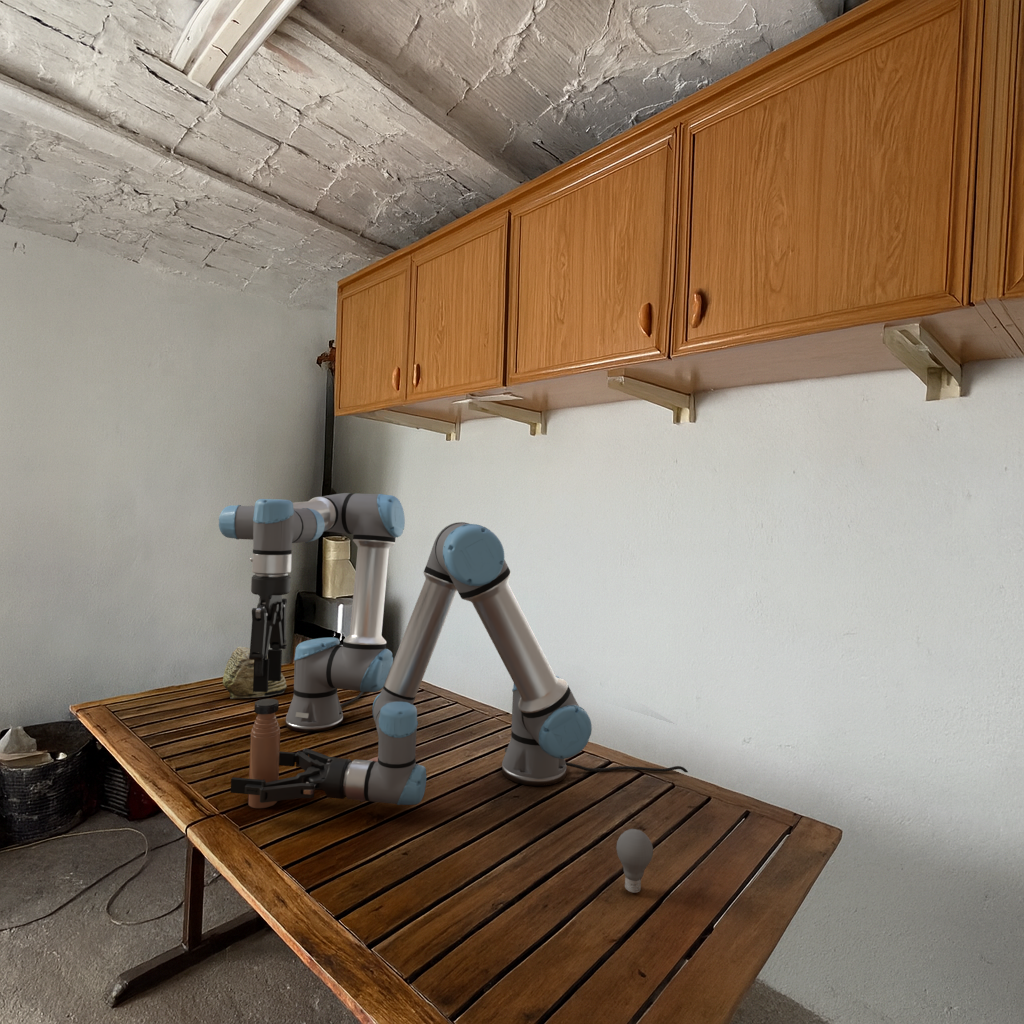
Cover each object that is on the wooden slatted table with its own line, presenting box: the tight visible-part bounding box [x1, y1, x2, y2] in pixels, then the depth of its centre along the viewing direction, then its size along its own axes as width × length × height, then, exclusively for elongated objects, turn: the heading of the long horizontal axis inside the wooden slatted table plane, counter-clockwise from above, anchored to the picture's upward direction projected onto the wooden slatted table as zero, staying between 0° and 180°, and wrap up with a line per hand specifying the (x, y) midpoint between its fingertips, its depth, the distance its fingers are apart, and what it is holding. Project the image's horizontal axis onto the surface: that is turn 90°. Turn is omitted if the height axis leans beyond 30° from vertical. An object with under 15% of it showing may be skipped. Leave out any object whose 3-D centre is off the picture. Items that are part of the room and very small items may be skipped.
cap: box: [253, 698, 280, 715], centre depth 130 cm, size 5×5×2 cm
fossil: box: [222, 646, 288, 699], centre depth 198 cm, size 9×18×15 cm, turn 132°
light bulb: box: [615, 828, 654, 894], centre depth 106 cm, size 6×6×10 cm
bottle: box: [247, 712, 281, 809], centre depth 130 cm, size 6×6×20 cm
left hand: (267, 685), depth 130 cm, fingers open, 7 cm apart
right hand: (249, 770), depth 131 cm, fingers open, 13 cm apart
